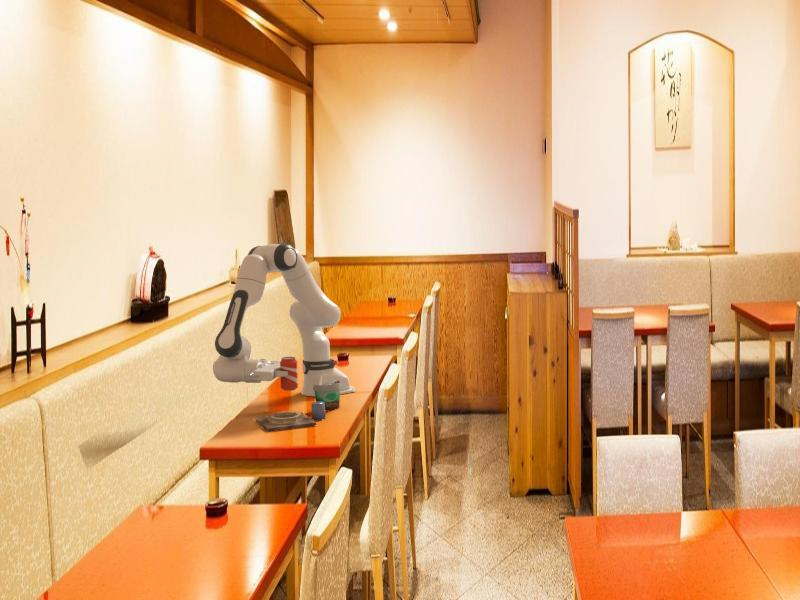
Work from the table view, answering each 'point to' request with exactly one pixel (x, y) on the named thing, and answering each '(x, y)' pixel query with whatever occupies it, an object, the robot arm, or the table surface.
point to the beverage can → (292, 379)
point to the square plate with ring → (285, 421)
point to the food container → (328, 395)
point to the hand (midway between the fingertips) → (291, 371)
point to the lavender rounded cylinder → (318, 410)
